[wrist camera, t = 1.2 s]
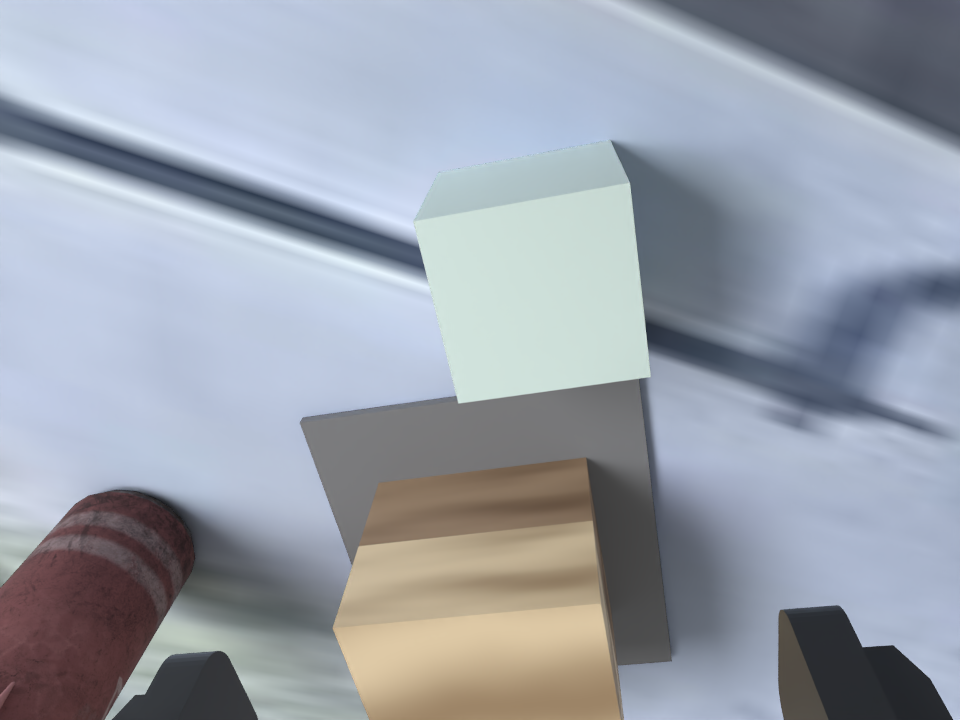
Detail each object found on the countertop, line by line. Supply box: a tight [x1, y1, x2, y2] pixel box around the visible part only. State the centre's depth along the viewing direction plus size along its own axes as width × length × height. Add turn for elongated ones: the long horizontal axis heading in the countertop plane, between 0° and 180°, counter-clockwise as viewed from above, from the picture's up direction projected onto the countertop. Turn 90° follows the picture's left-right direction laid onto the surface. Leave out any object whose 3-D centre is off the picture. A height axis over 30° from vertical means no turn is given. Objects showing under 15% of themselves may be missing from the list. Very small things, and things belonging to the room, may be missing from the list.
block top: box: [333, 521, 624, 720], centre depth 27 cm, size 9×9×4 cm
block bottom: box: [359, 457, 620, 683], centre depth 31 cm, size 9×9×4 cm
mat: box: [300, 379, 672, 665], centre depth 33 cm, size 16×14×1 cm
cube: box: [413, 140, 651, 404], centre depth 24 cm, size 6×6×6 cm
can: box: [0, 490, 195, 720], centre depth 28 cm, size 6×6×14 cm
